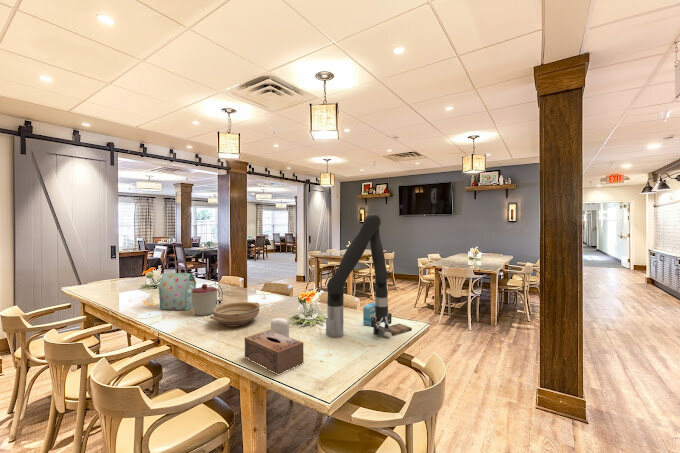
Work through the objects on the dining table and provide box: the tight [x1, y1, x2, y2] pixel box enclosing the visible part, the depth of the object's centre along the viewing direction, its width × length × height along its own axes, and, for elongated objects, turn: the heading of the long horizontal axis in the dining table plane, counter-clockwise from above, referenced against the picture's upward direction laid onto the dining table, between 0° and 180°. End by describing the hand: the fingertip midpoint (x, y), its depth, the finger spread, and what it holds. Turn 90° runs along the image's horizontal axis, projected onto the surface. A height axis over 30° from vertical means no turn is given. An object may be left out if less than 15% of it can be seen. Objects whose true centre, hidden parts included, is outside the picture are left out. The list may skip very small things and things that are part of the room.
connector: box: [372, 325, 392, 338], centre depth 179 cm, size 12×4×4 cm, turn 36°
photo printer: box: [270, 317, 290, 337], centre depth 171 cm, size 10×4×12 cm, turn 72°
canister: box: [190, 283, 219, 317], centre depth 221 cm, size 18×18×21 cm
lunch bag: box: [158, 272, 197, 311], centre depth 236 cm, size 23×16×27 cm
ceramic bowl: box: [210, 301, 261, 327], centre depth 201 cm, size 37×28×10 cm
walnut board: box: [389, 323, 413, 337], centre depth 186 cm, size 15×10×2 cm, turn 126°
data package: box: [362, 302, 379, 327], centre depth 200 cm, size 12×4×12 cm, turn 142°
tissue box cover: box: [244, 329, 304, 375], centre depth 146 cm, size 26×14×10 cm, turn 49°
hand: (381, 333), depth 179 cm, fingers open, 7 cm apart
